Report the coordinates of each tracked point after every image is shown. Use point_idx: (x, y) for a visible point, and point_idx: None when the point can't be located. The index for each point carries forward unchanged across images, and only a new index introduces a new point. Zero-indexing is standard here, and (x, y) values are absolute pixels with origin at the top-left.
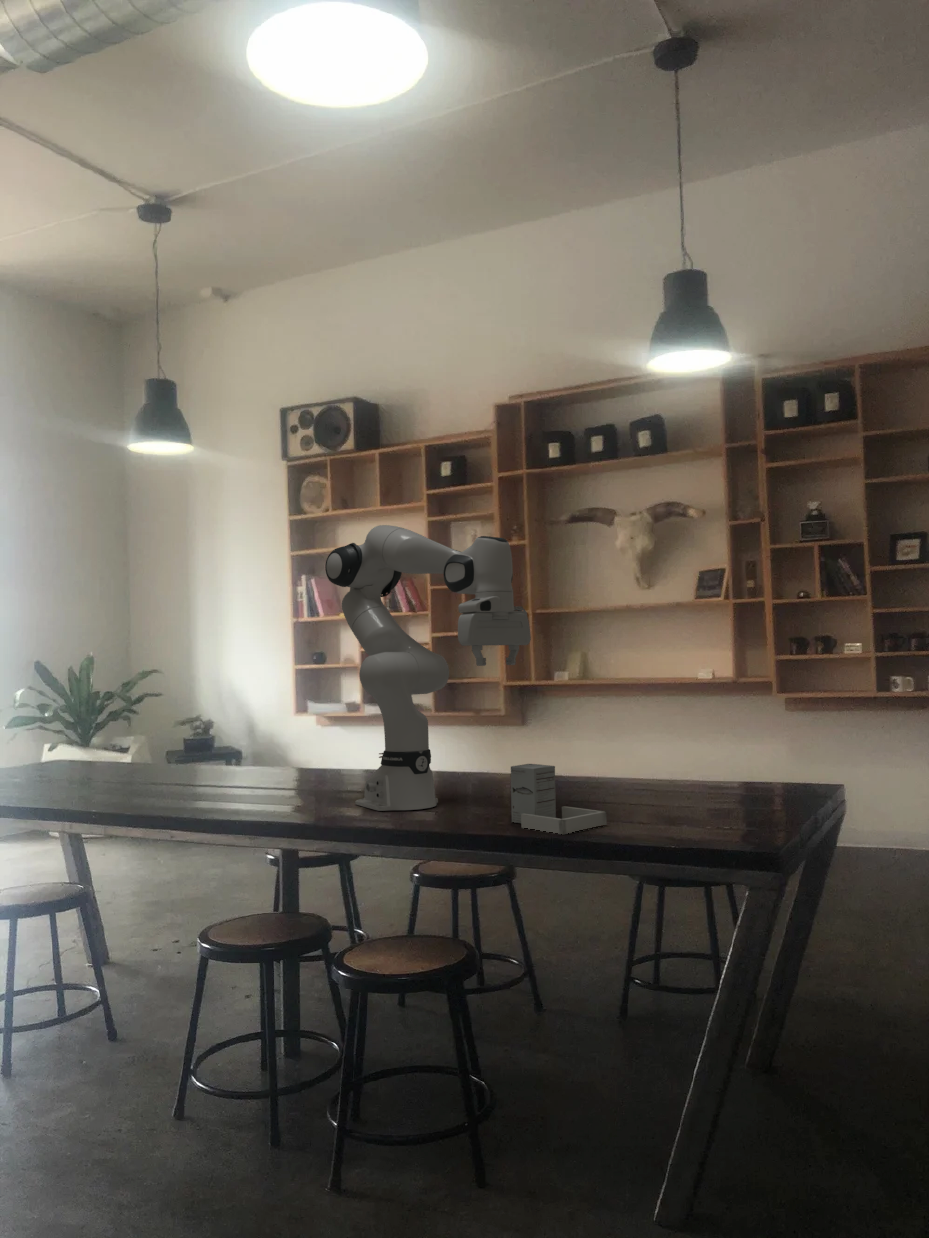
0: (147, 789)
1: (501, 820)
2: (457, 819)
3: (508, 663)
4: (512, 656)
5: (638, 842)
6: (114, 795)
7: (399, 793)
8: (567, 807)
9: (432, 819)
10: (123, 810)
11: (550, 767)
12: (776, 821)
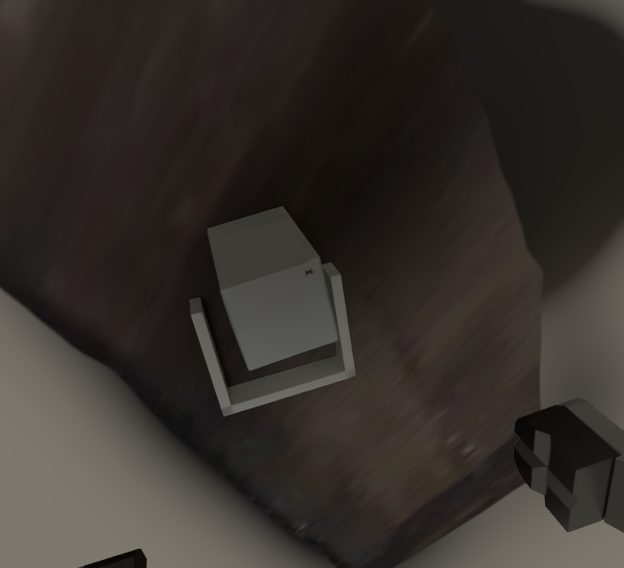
0: None
1: (203, 181)
2: (99, 84)
3: (527, 444)
4: (617, 510)
5: (283, 492)
6: None
7: None
8: (333, 292)
9: (20, 26)
10: None
11: (317, 346)
12: None
